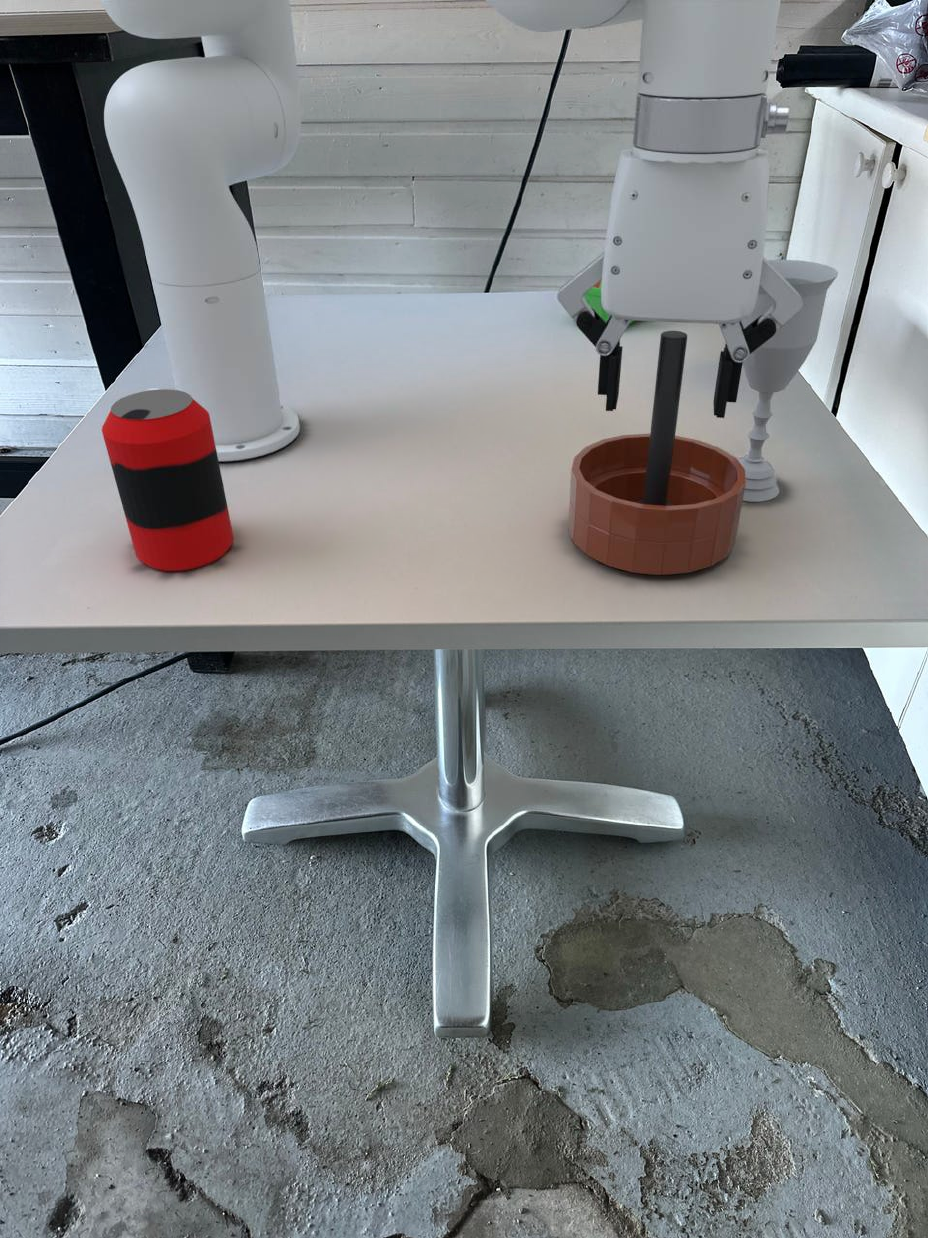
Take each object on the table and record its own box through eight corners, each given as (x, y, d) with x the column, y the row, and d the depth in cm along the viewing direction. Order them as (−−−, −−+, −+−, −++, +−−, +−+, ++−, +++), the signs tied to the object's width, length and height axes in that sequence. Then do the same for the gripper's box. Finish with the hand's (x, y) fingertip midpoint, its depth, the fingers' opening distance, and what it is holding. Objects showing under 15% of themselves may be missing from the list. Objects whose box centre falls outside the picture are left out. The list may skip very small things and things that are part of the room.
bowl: (559, 572, 67) (562, 501, 63) (577, 494, 77) (581, 428, 73) (735, 589, 64) (749, 516, 61) (730, 506, 74) (742, 439, 71)
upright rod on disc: (618, 543, 69) (636, 343, 60) (622, 513, 73) (640, 322, 64) (682, 548, 68) (710, 347, 59) (683, 518, 72) (709, 325, 63)
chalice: (740, 514, 73) (781, 288, 63) (690, 481, 78) (719, 267, 68) (809, 494, 76) (859, 275, 65) (756, 464, 81) (794, 255, 70)
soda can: (117, 567, 69) (74, 420, 62) (166, 520, 75) (132, 381, 68) (207, 578, 67) (174, 428, 60) (249, 529, 73) (223, 388, 66)
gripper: (840, 120, 55) (786, 395, 66) (561, 119, 58) (551, 381, 69) (857, 137, 49) (794, 436, 60) (545, 135, 53) (537, 420, 63)
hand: (664, 405), depth 64 cm, fingers open, 7 cm apart
